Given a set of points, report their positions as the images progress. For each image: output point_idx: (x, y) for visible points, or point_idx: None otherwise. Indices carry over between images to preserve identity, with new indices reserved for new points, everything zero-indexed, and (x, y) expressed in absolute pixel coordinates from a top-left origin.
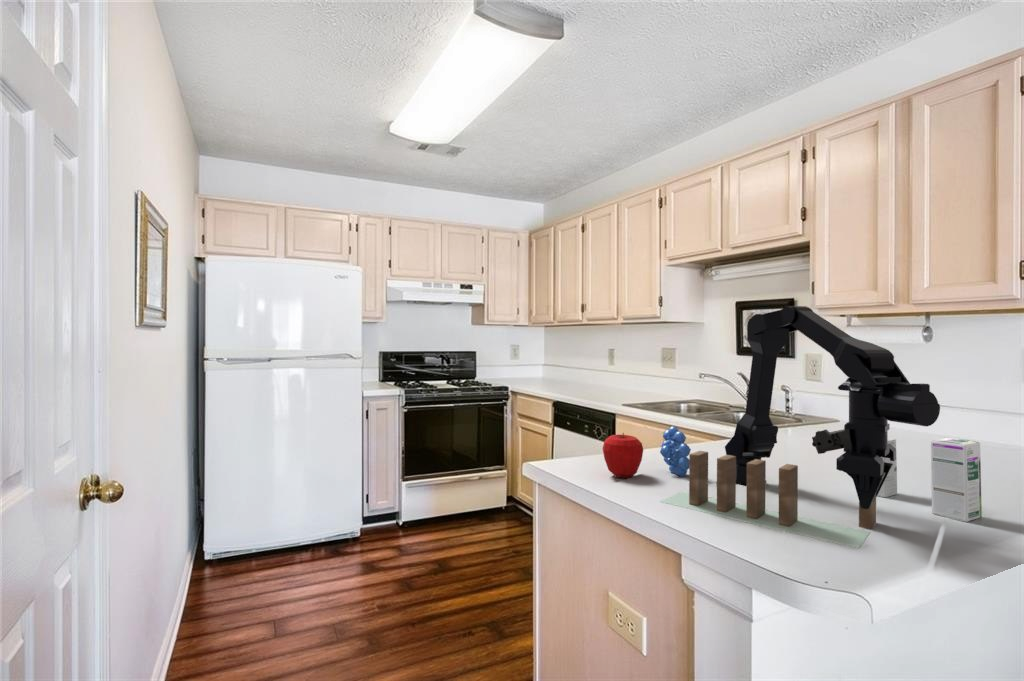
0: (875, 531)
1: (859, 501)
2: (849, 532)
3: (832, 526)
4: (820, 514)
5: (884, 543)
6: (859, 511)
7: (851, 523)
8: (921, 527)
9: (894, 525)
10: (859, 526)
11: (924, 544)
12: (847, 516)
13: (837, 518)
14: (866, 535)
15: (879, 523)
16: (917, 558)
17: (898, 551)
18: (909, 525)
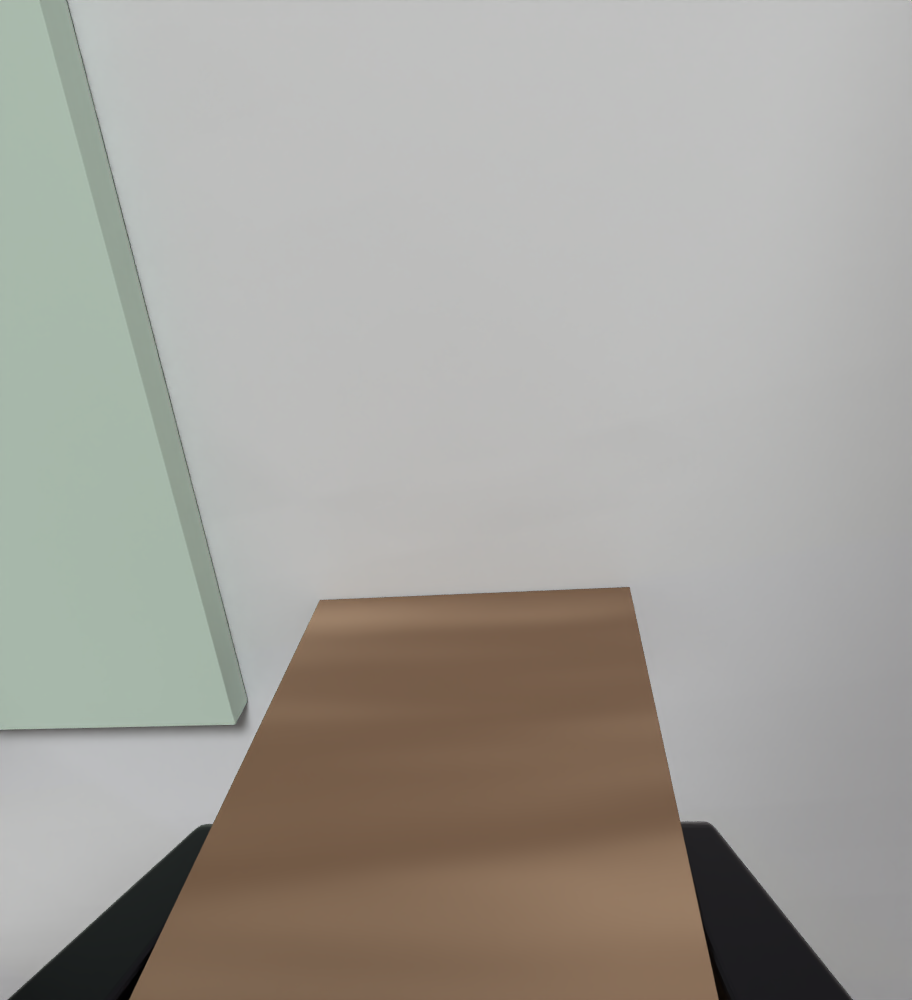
0: None
1: (127, 894)
2: (13, 601)
3: (37, 423)
4: (627, 51)
5: (137, 804)
6: (248, 750)
7: (513, 490)
8: (906, 946)
9: (796, 795)
10: (309, 627)
11: None
12: (814, 376)
13: (604, 309)
14: (84, 721)
15: (762, 692)
16: (30, 967)
17: (50, 885)
18: (905, 880)
